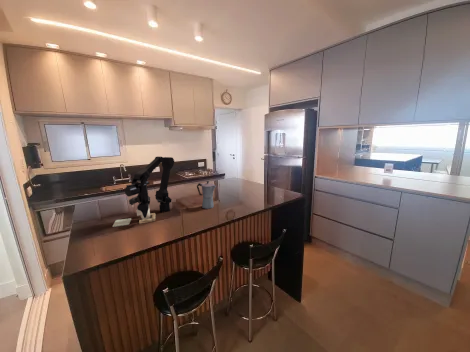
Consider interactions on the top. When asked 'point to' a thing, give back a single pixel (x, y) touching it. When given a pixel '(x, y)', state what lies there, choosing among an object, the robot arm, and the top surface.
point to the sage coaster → (122, 222)
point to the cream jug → (142, 214)
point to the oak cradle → (148, 219)
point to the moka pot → (207, 194)
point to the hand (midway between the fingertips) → (145, 214)
